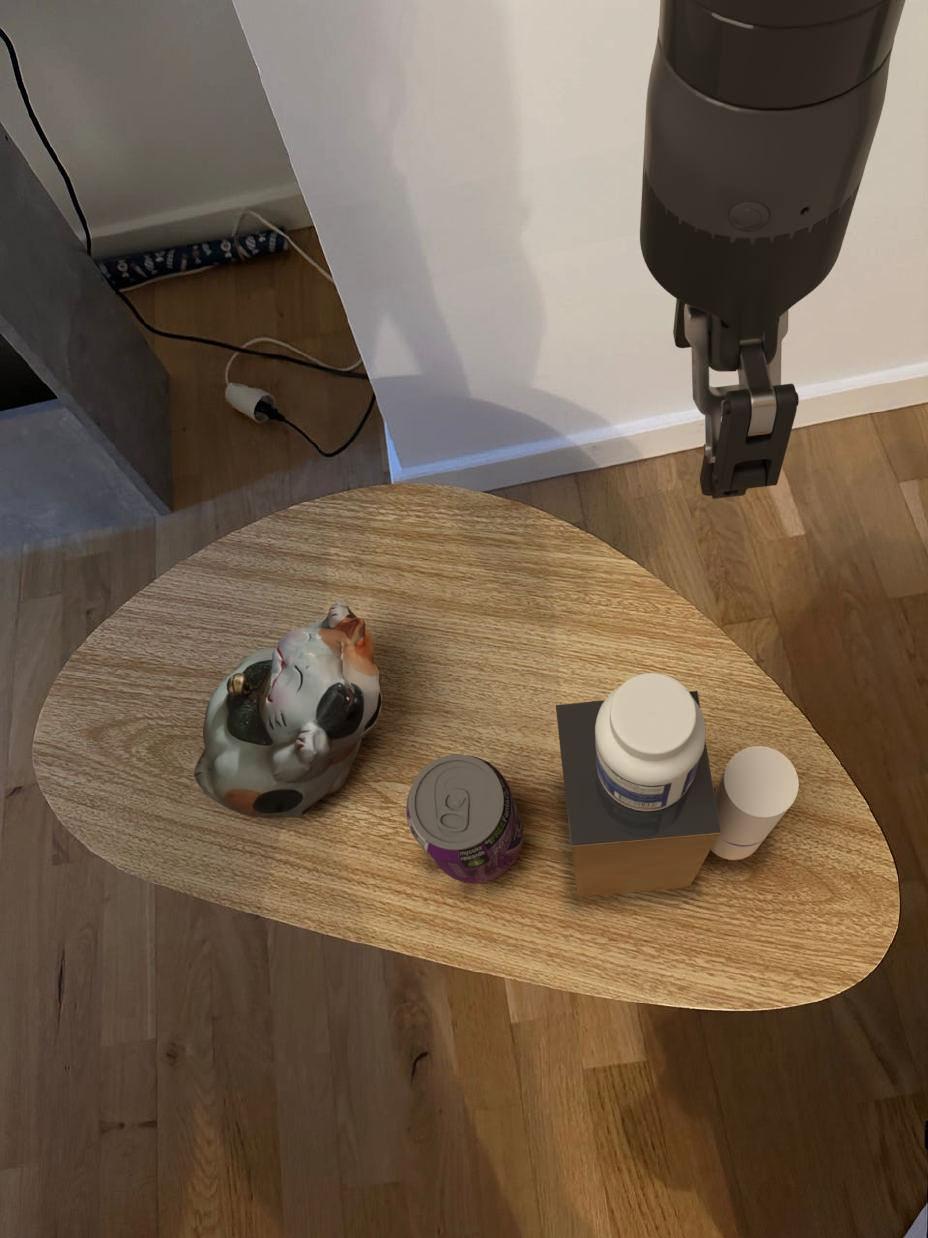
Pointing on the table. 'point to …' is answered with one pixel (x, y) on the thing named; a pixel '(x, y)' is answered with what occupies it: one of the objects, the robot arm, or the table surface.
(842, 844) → the table surface
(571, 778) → the slate coaster
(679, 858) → the walnut plinth
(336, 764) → the lucky cat figurine
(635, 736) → the pill bottle
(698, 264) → the robot arm
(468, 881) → the beverage can
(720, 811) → the tube
